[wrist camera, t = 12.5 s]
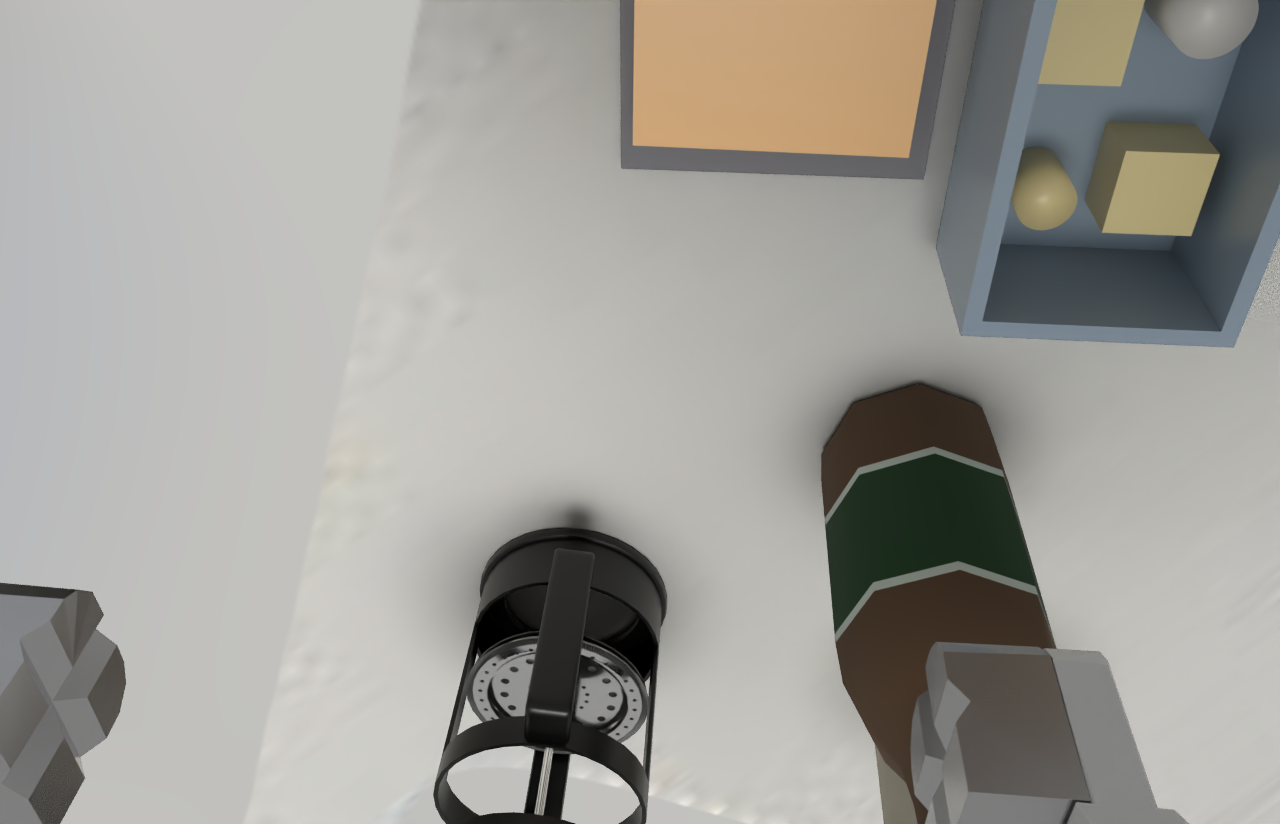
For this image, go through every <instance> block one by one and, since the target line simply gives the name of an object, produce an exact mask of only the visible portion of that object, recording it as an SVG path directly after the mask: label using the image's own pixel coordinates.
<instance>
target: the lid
mask: <svg viewBox="0 0 1280 824" xmlns="http://www.w3.org/2000/svg"><path fill="white" fill-rule="evenodd" d="M936 2H937V0H634V76H633V145H634V146H656V147H678V148H700V149H722V150H744V151H766V152H789V153H811V154H833V155H855V156H877V157H899V158H909V153H910V148H911V142H912V136H913V131H914V125H915V120H916V114H917V108H918V103H919V97H920V92H921V86H922V80H923V75H924V69H925V64H926V58H927V52H928V47H929V41H930V35H931V30H932V24H933V19H934V13H935V7H936Z"/></svg>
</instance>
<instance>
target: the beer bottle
mask: <svg viewBox="0 0 1280 824" xmlns="http://www.w3.org/2000/svg"><path fill="white" fill-rule="evenodd" d="M821 481H822V493H823V504H824V516H825V527H826V539H827V550H828V562H829V574H830V585H831V597H832V608H833V620H834V631H835V643H836V648H837V653H838V659H839V664H840V669H841V675H842V680H843V684H844V686H845V688H846V690H847V692H848V694H849V696H850V697H851V699H852V701H853V703H854V705H855V707H856V709H857V711H858V713H859V715H860V716H861V718H862V720H863V722H864V724H865V726H866V728H867V730H868V732H869V733H870V735H871V737H872V739H873V741H874V743H875V745H876V747H877V748H878V750H879V752H880V754H881V756H882V758H883V760H884V762H885V763H886V764H887V765H888V766H889V767H890V768H891V769H892V770H893V771H894V772H895V773H896V774H897V775H898V776H899V777H900V778H901V779H903V780H904V781H905V782H906V784H907V787H908V790H909V793H910V796H911V799H912V802H913V805H914V809H915V814H916V819H917V824H925V821H926V818H927V814H928V810H927V809H926V807H925V806H924V805H923V804H922V803H921V802H920V801H919V799H918V798H917V797H916V796H915V794H914V786H913V778H912V768H911V750H910V746H911V732H912V719H913V715H914V710H915V706H916V701H917V697H919V696H920V695H922V694H923V693H924V692H926V691H927V690H929V689H928V683H927V676H926V670H925V666H926V662H927V659H928V655H929V652H930V649H931V648H932V646H933V645H934V643H935V642H948V643H968V644H988V645H1008V646H1028V647H1039V648H1041V649H1044V648H1048V649H1056V645H1055V642H1054V638H1053V635H1052V631H1051V628H1050V624H1049V621H1048V617H1047V614H1046V610H1045V607H1044V604H1043V600H1042V597H1041V593H1040V590H1039V586H1038V583H1037V579H1036V576H1035V572H1034V569H1033V565H1032V562H1031V559H1030V555H1029V552H1028V548H1027V545H1026V541H1025V538H1024V534H1023V531H1022V527H1021V524H1020V520H1019V517H1018V513H1017V510H1016V507H1015V503H1014V500H1013V496H1012V493H1011V489H1010V486H1009V483H1008V480H1007V477H1006V474H1005V471H1004V468H1003V465H1002V462H1001V459H1000V456H999V453H998V450H997V448H996V445H995V442H994V439H993V436H992V433H991V430H990V428H989V425H988V422H987V420H986V417H985V415H984V412H983V409H982V407H980V406H978V405H977V404H974V403H971V402H968V401H966V400H963V399H960V398H957V397H954V396H952V395H949V394H946V393H943V392H940V391H937V390H935V389H932V388H929V387H926V386H923V385H921V384H915V385H911V386H908V387H905V388H902V389H898V390H895V391H892V392H888V393H885V394H882V395H878V396H875V397H872V398H869V399H865V400H862V401H859V402H855V403H854V404H853V405H852V407H851V408H850V410H849V411H848V413H847V415H846V416H845V418H844V419H843V421H842V423H841V424H840V426H839V427H838V429H837V431H836V432H835V434H834V435H833V437H832V438H831V440H830V442H829V443H828V445H827V446H826V448H825V450H824V451H823V453H822V468H821Z"/></svg>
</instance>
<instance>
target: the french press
mask: <svg viewBox="0 0 1280 824" xmlns="http://www.w3.org/2000/svg"><path fill="white" fill-rule="evenodd" d="M538 585H548V589H547V594H546V599H545V605H544V610H543V615H542V621H541V626H540V630H539V631H530V630H529V629H527V628H526V627H525V626H523V625H522V624H521V623H520V622H519V621H518V620H517V619H516V618H515V617H514V615H513V614H512V612H511V611H510V609H509V606H508V604H507V601H506V595H507V594H510V593H512V592H515V591H517V590H519V589H524V588H528V587H532V586H538ZM590 589H592V590H595V591H598V592H601V593H603V594H606V595H608V596H610V597H612V598H614V599H616V600H618V601H620V602H622V603H623V604H625V605H626V606H627V607H629V608H630V609H631V610H633V611H634V612H635V613H636V614H637V615H638V616H639V617H638V619H637V620H636V622H635V623H634V625H633V626H632V627H631V628H630V629H629V630H627V631H626V632H625V633H623V634H622V635H620V636H618V637H617V638H614V639H611V640H609V641H606V642H601V641H599V640H596V639H594V638H591V637H588V636H585V635H584V630H585V623H586V616H587V609H588V602H589V595H590ZM480 596H481V601H480V605H479V609H478V613H477V617H476V621H475V625H474V629H473V633H472V637H471V641H470V645H469V649H468V653H467V657H466V661H465V665H464V669H463V673H462V678H461V682H460V686H459V690H458V694H457V698H456V702H455V706H454V710H453V714H452V718H451V722H450V726H449V730H448V734H447V738H446V742H445V746H444V750H443V754H442V758H441V762H440V766H439V770H438V774H437V778H436V782H435V788H434V794H433V795H434V801H435V806H436V808H437V810H438V812H439V814H440V816H441V818H442V819H443V820H444V822H445V823H446V824H575V823H571V822H568V821H565V820H561V818H562V811H563V804H564V797H565V790H566V783H567V776H568V769H569V762H570V755H571V754H577V755H581V756H584V757H587V758H589V759H591V760H593V761H595V762H598V763H600V764H602V765H604V766H605V767H607V768H609V769H610V770H612V771H613V772H615V773H616V774H618V775H619V776H620V777H621V778H622V779H623V780H624V781H625V782H627V783H628V784H629V785H630V786H631V788H632V789H633V791H634V792H635V794H636V795H637V797H638V799H639V802H640V805H639V806H638V807H637V809H636V810H635V811H634V812H633V814H632V815H630V816H629V817H628V818H626V819H625V820H624V821H623V822H621V823H619V824H645V823H646V817H647V803H648V790H649V777H650V763H651V750H652V736H653V723H654V709H655V696H656V682H657V669H658V655H659V642H660V629H661V626H662V624H663V621H664V618H665V615H666V606H667V595H666V591H665V587H664V583H663V581H662V579H661V577H660V576H659V574H658V572H657V570H656V569H655V568H654V566H653V565H652V564H651V563H650V562H649V561H648V560H647V559H646V558H645V557H644V556H643V555H642V554H640V553H639V552H638V551H636V550H635V549H634V548H632V547H630V546H629V545H627V544H625V543H623V542H621V541H619V540H617V539H615V538H612V537H609V536H606V535H603V534H601V533H597V532H592V531H587V530H582V529H566V528H558V529H547V530H541V531H537V532H533V533H529V534H525V535H523V536H521V537H518V538H516V539H514V540H512V541H510V542H509V543H507V544H506V545H504V546H503V547H502V548H500V549H499V550H498V551H497V552H496V553H495V554H494V556H493V557H492V558H491V559H490V560H489V561H488V563H487V566H486V568H485V570H484V572H483V574H482V579H481V585H480ZM477 654H478V656H479V659H478V660H477V662H476V663H475V659H476V655H477ZM474 663H475V665H474ZM649 677H650V686H649V698H648V694H647V691H646V686H645V683H644V682H645V681H646V680H648V678H649ZM466 696H467V698H468V701H469V703H470V705H471V707H472V710H473V711H474V712H475V714H476V715H477V716H478V718H479V719H480V720H481V721H482V722H483V723H481V724H478V725H475V726H472V727H470V728H469V729H467V730H465V731H464V732H462V733H461V734H459V735H457V734H458V729H459V725H460V721H461V717H462V713H463V709H464V704H465V700H466ZM646 716H647V723H646V735H645V748H644V760H643V766H642V765H641V763H640V762H639V760H638V759H637V757H636V756H635V755H634V754H632V753H631V752H630V751H629V750H628V749H627V748H626V747H625V746H624V745H622V744H621V743H622V742H623V741H625V740H627V739H629V738H630V737H631V736H632V735H633V734H635V733H636V732H637V731H638V730H639V729H640V727H641V726H642V724H643V723H644V722H645V719H646ZM509 746H524V747H528V748H531V749H534V750H535V751H534V757H533V762H532V768H531V774H530V780H529V786H528V792H527V797H526V803H525V809H524V813H514V812H513V813H493V814H487V815H481V816H479V815H478V814H476V813H474V812H473V811H471V810H470V809H469V808H468V807H466V806H465V805H464V804H463V803H462V802H461V801H460V800H459V799H458V798H457V797H456V796H455V794H454V793H453V792H452V790H451V789H450V786H449V784H448V782H447V780H446V779H447V775H448V771H449V769H451V768H452V767H453V766H454V765H455V764H456V763H458V762H459V761H461V760H463V759H465V758H466V757H468V756H471V755H473V754H476V753H479V752H482V751H484V750H490V749H495V748H500V747H509Z"/></svg>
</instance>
